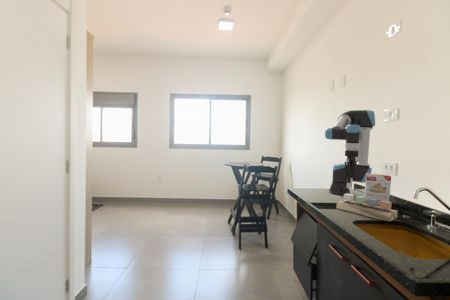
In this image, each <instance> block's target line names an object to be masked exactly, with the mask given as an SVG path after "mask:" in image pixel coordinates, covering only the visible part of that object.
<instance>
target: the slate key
mask: <svg viewBox="0 0 450 300" xmlns="http://www.w3.org/2000/svg"><path fill="white" fill-rule="evenodd" d="M367 205H369V206H371V207H370V208H371V209H374V207H375V206H378V199H373V198H369V199H367Z"/></svg>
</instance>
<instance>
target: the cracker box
mask: <svg viewBox="0 0 450 300" xmlns="http://www.w3.org/2000/svg"><path fill="white" fill-rule="evenodd" d="M391 182H392V176H390V175H389V174H377V173H371V174H367V173H366V181H365V183H364V195H363V197H366V201H365V203H364V204H367V199H369V198H373V199H378V207H380V201H383V200H384V201H389V202H390V197H391V196H390V194H391V187H392V186H391V184H392V183H391Z"/></svg>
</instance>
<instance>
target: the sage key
mask: <svg viewBox="0 0 450 300" xmlns="http://www.w3.org/2000/svg"><path fill="white" fill-rule="evenodd" d="M354 201H355V203H358V206H362V204H364V203H365V201H366V197H364V195H363V196H361V195H356V196H355V195H354Z"/></svg>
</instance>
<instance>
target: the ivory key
mask: <svg viewBox="0 0 450 300" xmlns="http://www.w3.org/2000/svg"><path fill="white" fill-rule="evenodd" d="M343 200H346V201H347V203H348V204H350V201H355V194H352V193H350V194H348V193H346V194H344V195H343Z"/></svg>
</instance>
